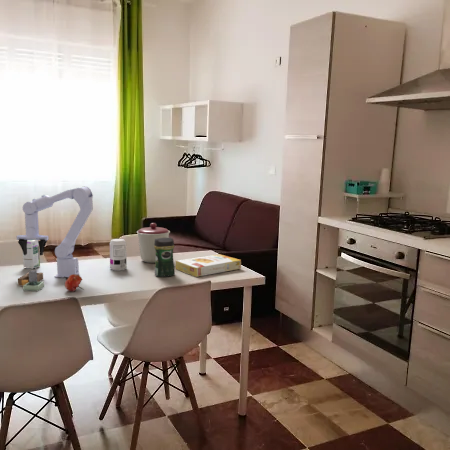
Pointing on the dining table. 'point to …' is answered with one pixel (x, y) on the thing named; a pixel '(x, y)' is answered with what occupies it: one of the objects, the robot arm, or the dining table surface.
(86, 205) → the robot arm
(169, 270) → the coffee jar
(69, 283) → the pomegranate
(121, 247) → the supplement can
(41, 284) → the tray
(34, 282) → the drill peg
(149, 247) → the canister
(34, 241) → the syrup box
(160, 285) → the dining table surface
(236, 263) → the cereal box
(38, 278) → the socket block
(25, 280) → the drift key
